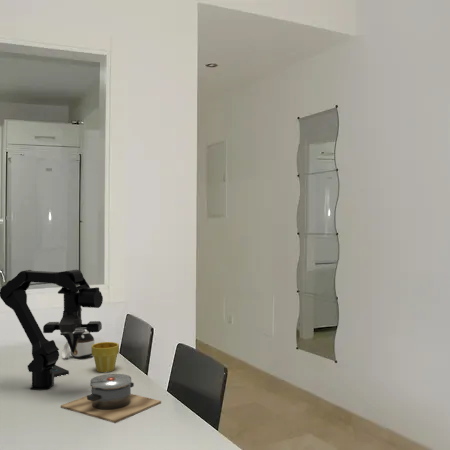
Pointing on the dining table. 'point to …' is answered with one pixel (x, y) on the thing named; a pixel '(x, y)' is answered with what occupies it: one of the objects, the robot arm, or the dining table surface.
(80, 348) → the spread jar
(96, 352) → the plant pot
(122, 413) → the board
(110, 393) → the cooker
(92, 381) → the lid
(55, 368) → the smart home device
